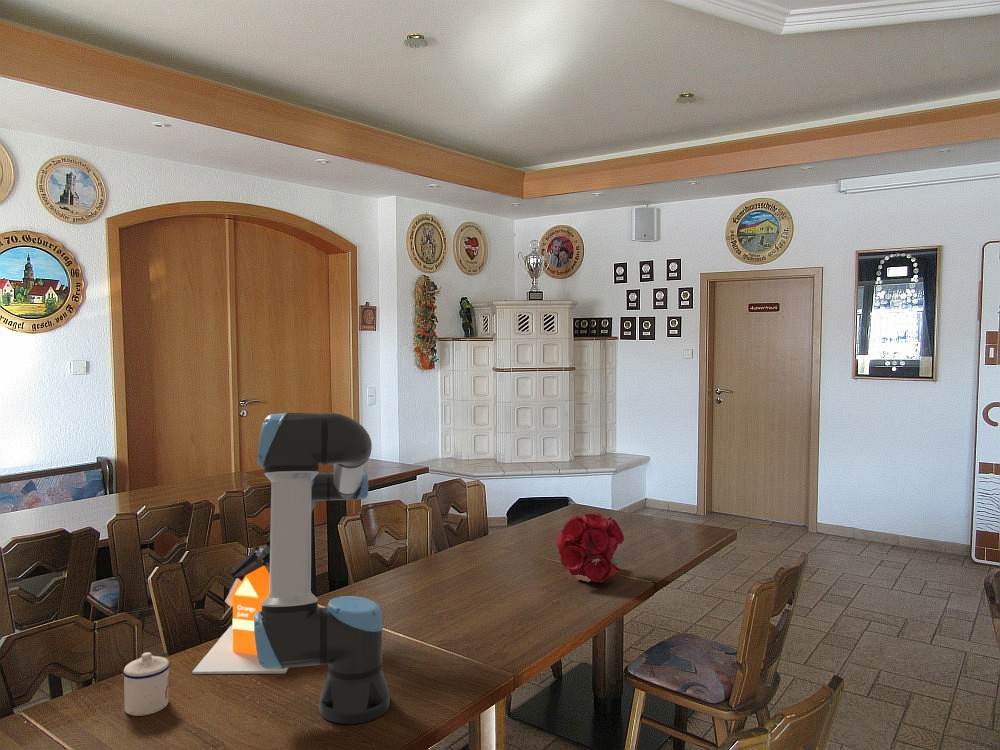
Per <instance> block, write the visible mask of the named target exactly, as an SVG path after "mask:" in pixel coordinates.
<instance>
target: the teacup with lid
mask: <svg viewBox="0 0 1000 750" xmlns="http://www.w3.org/2000/svg"><path fill="white" fill-rule="evenodd" d="M170 666H171V664H170V661H169V660H168V658H166V657H165V656H159V655H157V656H156V655H153V654H152V653H151V652H149V651H147V652H143V653H142V654H141V657H138V659H135V660H132V661H131V662H128V663H127V664H126V665H125V667H124V669H123V671H122V675H123V676H124V678H123V680H124V681H123V683H124V684H123V686H124V687H123V688H124V691H123V692H124V693H123V694H124V695H123V696H124V697H123V698H124V700H123V701H124V712H125V713H126V714H127V715H130V716H133V717H134V716H135V717H139V716H140V717H141V716H148V715H151V714H155V713H158V712H160V711H161V710H163V709H165V708H166V707H167V706H168V704H169V701H170V692H169V690H170V689H169V685H170V684H169V683H170V682H169V679H170V678H169V677H170V676H169V675H170V674H169V668H170Z"/></svg>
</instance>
